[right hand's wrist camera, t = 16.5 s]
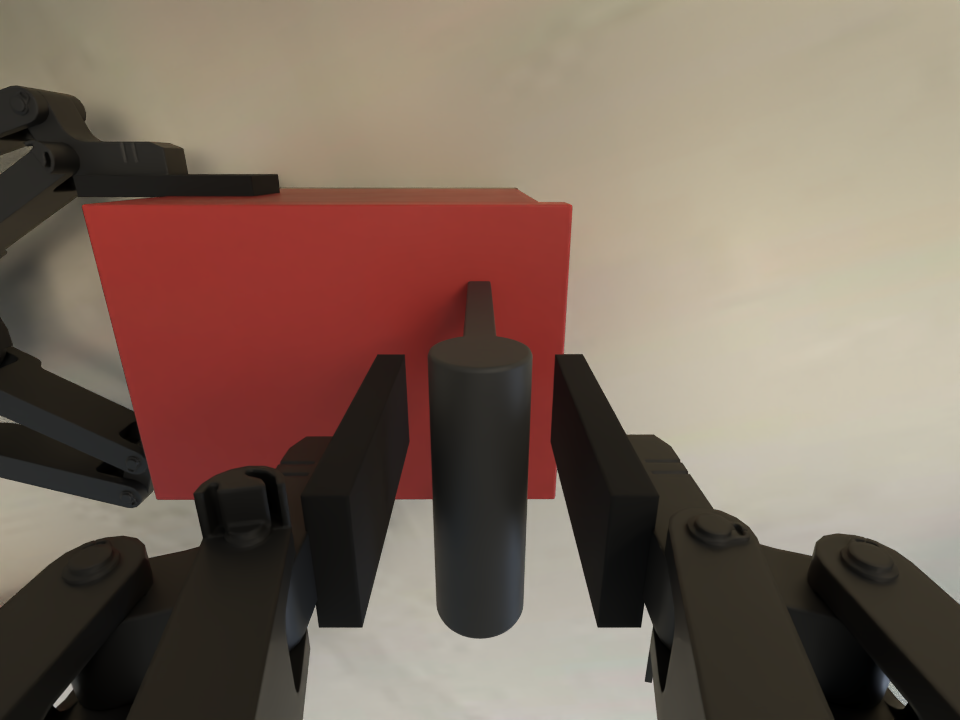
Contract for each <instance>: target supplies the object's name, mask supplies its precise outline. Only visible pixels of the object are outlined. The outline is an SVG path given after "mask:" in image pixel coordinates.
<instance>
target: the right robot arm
mask: <svg viewBox="0 0 960 720" xmlns="http://www.w3.org/2000/svg"><path fill="white" fill-rule="evenodd" d="M409 442H410V439H409V421H408V402H407V383H406V364H405V354H377V356H376V358H375V360H374V362H373V363H372V365H371V367H370V369H369V371H368V373H367V374H366V376H365V378H364V380H363V382H362V384H361V385H360V387H359V389H358V391H357V393H356V395H355V396H354V398H353V400H352V402H351V404H350V406H349V407H348V409H347V411H346V413H345V415H344V417H343V418H342V420H341V422H340V424H339V426H338V428H337V429H336V431H335V433H334V435H333V436H306V437H305V438H303V439H302V440H300V441H299V442H297V443H296V444H295V445H293V446H292V447H290V448H289V449H288V451H287V452H286V454H285V455H284V457H283V458H282V460H281V461H280V464H278V466H277V467H276V469H275V468H272V467H268V466H244V467H239V468H234V469H230V470H227V471H225V472H222V473H220V474H217V475H215V476H213V477H211V478H210V479H208V480H207V481H205V482H204V483H202V484H201V485H200V486H199V487H198V488H197V490H196V491H195V492H194V493H193V496H194V500H195V505H196V509H197V513H198V518H199V522H200V527H201V531H202V536H203V540H202V542H201V545H200V547H196V548H193V549H189V550H186V551H181V552H176V553H171V554H167V555H162V556H157V557H152V558H148V555H147V552H146V548H145V545H144V544H143V543H142V542H141V541H140V540H138V539H137V538H133V537H127V536H116V537H107V538H102V539H98V540H96V541H91V542H88V543H85V544H83V545H81V546H79V547H77V548H75V549H73V550H71V551H69V552H67V553H65V554H63V555H62V556H61V557H59V558H58V559H56V560H55V561H54V562H52V563H51V564H49V565H48V566H47V567H46V568H45V569H44V570H43V571H41V572H40V573H39V574H38V575H37V576H36V577H35V578H34V579H33V580H31V581H30V582H29V583H28V584H27V585H26V586H25V587H24V588H22V589H21V590H20V591H19V592H18V593H17V594H16V595H15V596H13V597H12V598H11V599H10V600H9V601H8V602H7V603H6V604H4V605H3V606H2V607H1V608H0V720H303V712H304V702H305V693H306V683H307V674H308V665H309V655H310V644H309V637H308V630H307V626H308V624H309V621H310V618H311V616H312V613H313V610H314V608H315V605H316V609H317V616H318V623H319V627H363V623H364V619H365V615H366V611H367V607H368V603H369V599H370V595H371V591H372V587H373V584H374V580H375V576H376V572H377V568H378V564H379V560H380V556H381V552H382V548H383V544H384V540H385V536H386V533H387V529H388V525H389V521H390V517H391V513H392V509H393V505H394V501H395V497H396V493H397V489H398V485H399V482H400V478H401V474H402V470H403V466H404V462H405V458H406V454H407V450H408V446H409ZM550 442H551V446H552V450H553V454H554V458H555V462H556V466H557V470H558V474H559V478H560V482H561V485H562V489H563V493H564V497H565V501H566V505H567V509H568V513H569V517H570V521H571V525H572V529H573V533H574V536H575V540H576V544H577V548H578V552H579V556H580V560H581V564H582V568H583V572H584V576H585V580H586V583H587V587H588V591H589V595H590V599H591V603H592V607H593V611H594V615H595V619H596V623H597V627H641V623H642V616H643V609H644V602H645V605H646V608H647V610H648V613H649V616H650V618H651V621H652V624H653V630H652V637H651V644H650V650H649V657H648V663H647V670H646V677H645V682H650V683H652V678H653V682H654V692H655V701H656V710H657V720H960V604H958V603H957V602H956V601H955V600H954V599H953V598H952V597H950V596H949V595H948V594H947V593H946V592H945V591H944V590H943V589H941V588H940V587H939V586H938V585H937V584H936V583H935V582H933V581H932V580H931V579H930V578H929V577H928V576H927V575H926V574H924V573H923V572H922V571H921V570H920V569H919V568H918V567H917V566H915V565H914V564H913V563H912V562H911V561H909V560H908V559H906V558H905V557H904V556H902V555H901V554H899V553H898V552H896V551H895V550H893V549H891V548H889V547H887V546H884V545H882V544H880V543H879V542H877V541H874V540H871V539H868V538H867V539H866V538H864V537H860V536H856V535H847V534H832V535H826V536H823V537H822V538H821V539H819V540H818V541H817V542H816V544H815V548H814V552H813V555H812V556H809V555H804V554H799V553H795V552H790V551H785V550H780V549H776V548H772V547H768V546H765V545H761V544H759V541H758V539H757V537H756V536H755V534H754V533H753V532H752V530H751V529H750V527H748V526H747V525H746V524H744V523H743V522H742V521H740V520H739V519H738V518H736V517H734V516H731V515H729V514H727V513H725V512H722V511H720V510H715V509H713V507H712V506H711V505H710V503H709V502H708V500H707V499H706V497H705V496H704V494H703V493H702V491H701V490H700V488H699V487H698V485H697V484H696V482H695V481H694V480H693V478H692V477H691V475H690V474H688V471H687V469H686V468H685V466H684V465H683V463H680V459H679V458H678V456H677V455H676V453H675V452H674V450H673V449H672V447H671V446H670V445H668V444H667V443H665V442H664V441H662V440H661V439H659V438H658V437H656V436H655V435H626V433H625V431H624V429H623V428H622V426H621V424H620V422H619V420H618V418H617V417H616V415H615V413H614V411H613V409H612V407H611V406H610V404H609V402H608V400H607V398H606V396H605V395H604V393H603V391H602V389H601V387H600V385H599V384H598V382H597V380H596V378H595V376H594V374H593V373H592V371H591V369H590V367H589V365H588V363H587V362H586V360H585V358H584V356H583V354H555V364H554V383H553V402H552V421H551V439H550ZM890 681H891V682H892V684H893V685H894V686H895V687H896V688H897V690H898V691H899V692H900V693H901V694H902V696H903V697H904V698H905V699H906V701H907V702H908V703H907V705H906V706H905V705H903V704H902V703H901V702H900V701H899V700H898V699H897V698H896V697H895V696H894V694H893V693H892V692H891V691H890V689H889V688H888V685H889V682H890ZM70 684H71V685H72V687H73V690H72V691H71V692H70V694H69V695H68V696H67V697H66V699H65V700H64V701H63V702H62V703H60V704H59V705H58V706H57V707H56V708H55V707H54V706H53V704H54V703H55V702H56V701H57V700H58V698H59V697H60V696H61V695H62V694H63V692H64V691H65V690H66V689H67V687H68V686H69V685H70Z"/></svg>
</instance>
